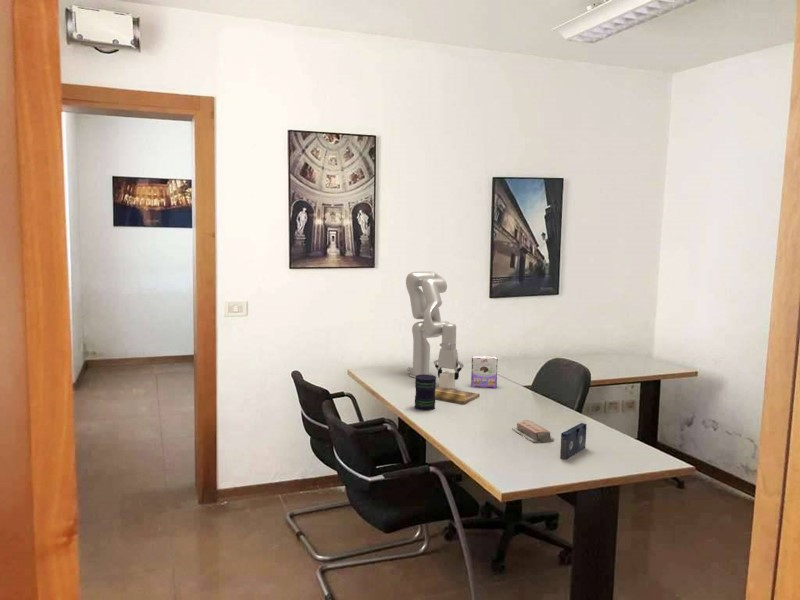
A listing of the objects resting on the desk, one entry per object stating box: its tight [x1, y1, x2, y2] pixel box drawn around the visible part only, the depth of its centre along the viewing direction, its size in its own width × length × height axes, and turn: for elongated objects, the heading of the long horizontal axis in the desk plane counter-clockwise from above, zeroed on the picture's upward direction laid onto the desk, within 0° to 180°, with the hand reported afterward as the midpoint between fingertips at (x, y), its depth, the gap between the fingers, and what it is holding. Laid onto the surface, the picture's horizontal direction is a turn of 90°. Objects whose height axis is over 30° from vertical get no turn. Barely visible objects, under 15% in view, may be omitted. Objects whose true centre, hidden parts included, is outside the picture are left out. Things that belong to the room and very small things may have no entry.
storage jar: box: [414, 374, 437, 412], centre depth 307 cm, size 10×10×15 cm
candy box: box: [470, 355, 498, 389], centre depth 351 cm, size 14×6×16 cm, turn 84°
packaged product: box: [511, 419, 555, 444], centre depth 271 cm, size 18×5×10 cm
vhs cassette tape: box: [559, 422, 588, 461], centre depth 250 cm, size 18×3×10 cm, turn 140°
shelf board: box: [435, 386, 481, 405], centre depth 329 cm, size 24×18×4 cm
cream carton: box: [438, 370, 456, 389], centre depth 347 cm, size 5×9×8 cm, turn 149°
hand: (448, 378), depth 346 cm, fingers open, 9 cm apart
